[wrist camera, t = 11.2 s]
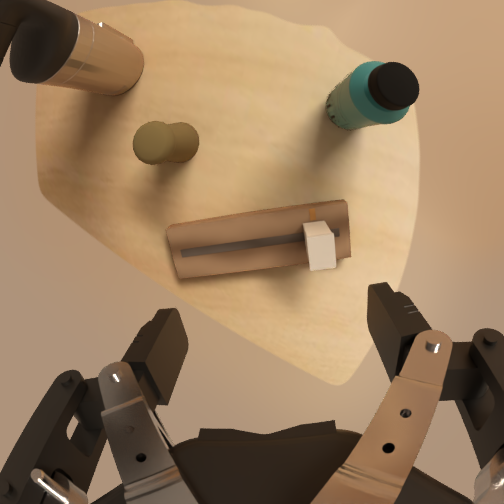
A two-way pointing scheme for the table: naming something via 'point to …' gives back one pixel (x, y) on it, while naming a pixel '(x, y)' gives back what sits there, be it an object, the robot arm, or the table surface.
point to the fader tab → (319, 245)
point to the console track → (254, 239)
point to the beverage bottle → (373, 95)
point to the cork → (165, 142)
